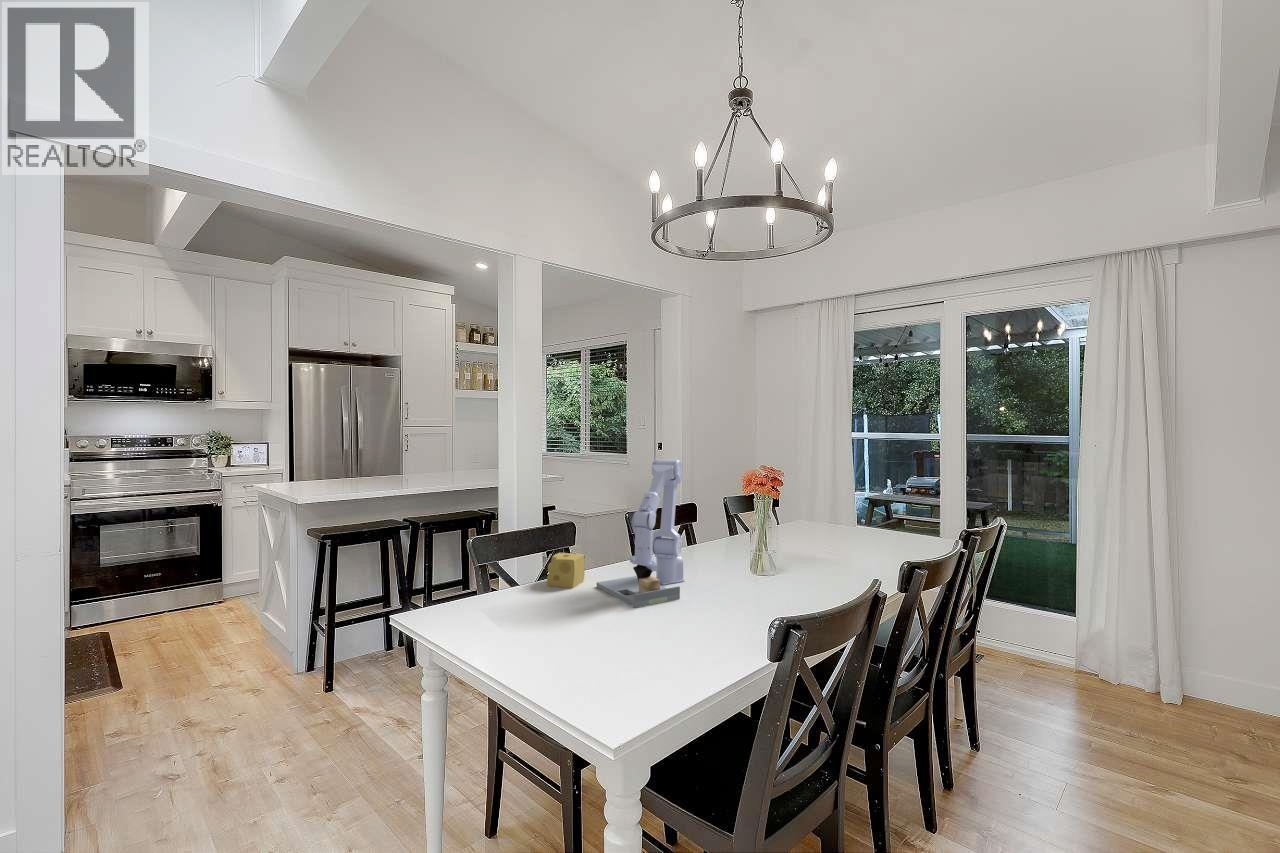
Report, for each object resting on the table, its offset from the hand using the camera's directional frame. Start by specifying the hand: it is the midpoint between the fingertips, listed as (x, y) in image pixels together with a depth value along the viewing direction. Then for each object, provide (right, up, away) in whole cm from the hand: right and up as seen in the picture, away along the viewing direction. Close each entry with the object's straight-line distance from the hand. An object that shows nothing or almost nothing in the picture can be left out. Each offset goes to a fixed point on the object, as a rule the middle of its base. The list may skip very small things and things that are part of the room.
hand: (643, 588), depth 195 cm
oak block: (+2, -1, -4) cm, 4 cm away
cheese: (-27, -3, +15) cm, 31 cm away
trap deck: (-2, -3, +4) cm, 5 cm away
